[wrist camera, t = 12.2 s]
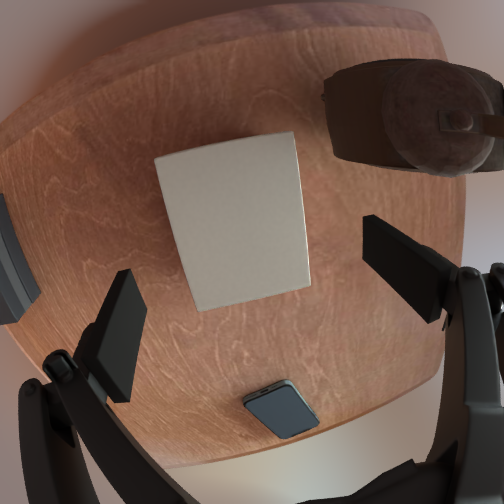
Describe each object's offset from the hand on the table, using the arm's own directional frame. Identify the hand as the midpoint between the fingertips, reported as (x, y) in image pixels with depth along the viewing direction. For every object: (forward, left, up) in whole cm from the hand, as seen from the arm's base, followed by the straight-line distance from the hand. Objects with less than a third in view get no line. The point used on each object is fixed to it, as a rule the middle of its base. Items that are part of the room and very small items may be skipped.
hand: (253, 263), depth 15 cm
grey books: (+11, -24, -11) cm, 29 cm away
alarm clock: (-13, +8, -11) cm, 19 cm away
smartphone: (+27, +17, -11) cm, 34 cm away
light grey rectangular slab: (0, 0, -8) cm, 8 cm away
